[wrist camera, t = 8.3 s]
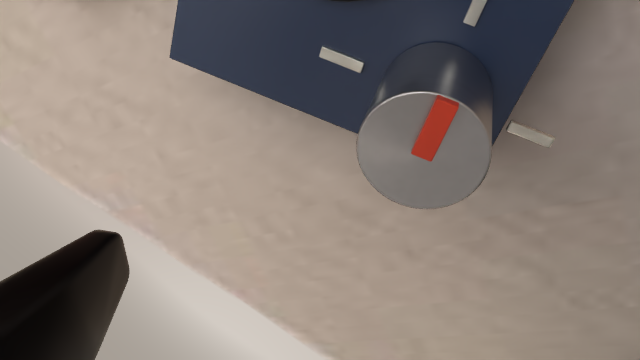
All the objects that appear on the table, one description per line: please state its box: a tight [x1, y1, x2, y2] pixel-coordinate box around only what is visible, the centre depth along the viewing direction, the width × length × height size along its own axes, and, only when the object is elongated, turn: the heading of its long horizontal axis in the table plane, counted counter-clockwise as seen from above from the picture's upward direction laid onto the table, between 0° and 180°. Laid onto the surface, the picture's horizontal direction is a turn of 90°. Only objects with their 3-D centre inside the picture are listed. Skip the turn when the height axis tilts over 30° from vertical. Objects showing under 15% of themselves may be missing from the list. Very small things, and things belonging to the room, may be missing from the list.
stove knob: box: [356, 42, 493, 209], centre depth 16 cm, size 3×3×4 cm
